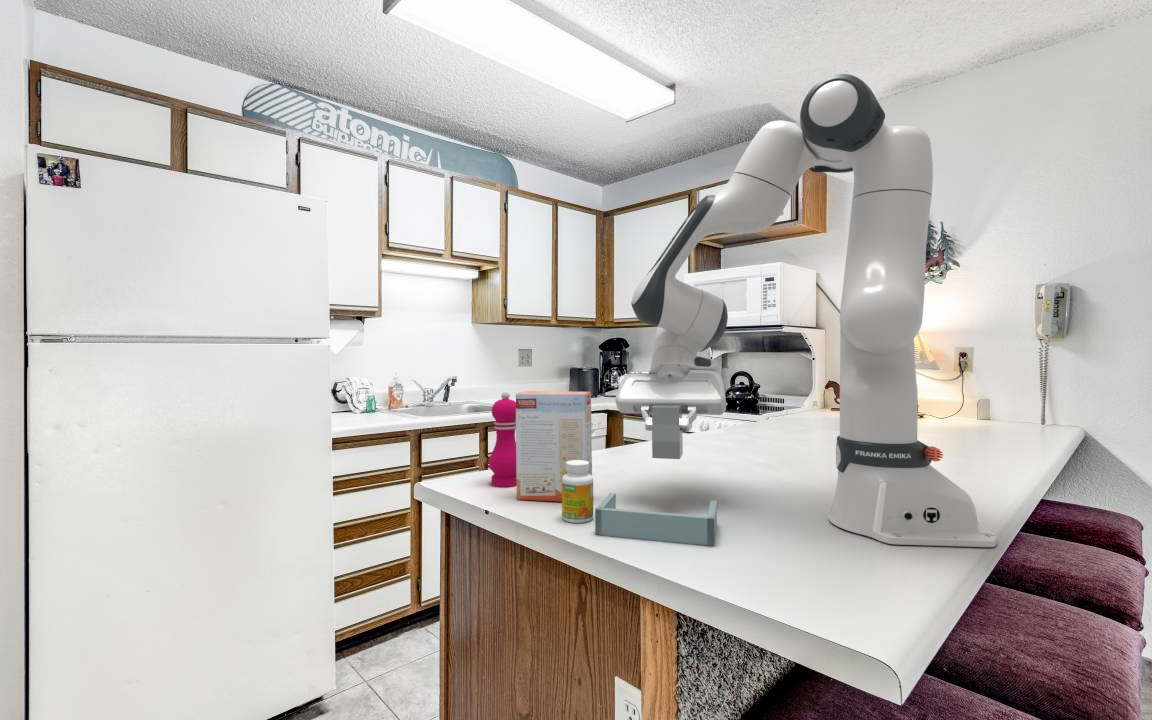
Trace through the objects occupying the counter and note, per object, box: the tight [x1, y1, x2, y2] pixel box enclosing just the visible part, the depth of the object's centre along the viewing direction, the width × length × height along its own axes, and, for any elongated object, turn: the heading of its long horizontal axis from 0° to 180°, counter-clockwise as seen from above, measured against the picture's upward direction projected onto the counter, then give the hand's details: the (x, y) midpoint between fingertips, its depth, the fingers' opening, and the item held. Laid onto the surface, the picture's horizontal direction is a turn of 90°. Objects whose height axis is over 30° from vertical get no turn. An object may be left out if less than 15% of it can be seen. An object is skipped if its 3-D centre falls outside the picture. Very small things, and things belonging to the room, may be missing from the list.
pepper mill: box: [488, 391, 517, 488], centre depth 117 cm, size 7×7×20 cm
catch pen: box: [594, 492, 718, 547], centre depth 86 cm, size 18×10×4 cm, turn 73°
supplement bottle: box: [561, 460, 594, 524], centre depth 92 cm, size 5×5×10 cm
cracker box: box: [515, 390, 593, 503], centre depth 105 cm, size 14×6×21 cm, turn 77°
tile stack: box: [651, 405, 684, 460], centre depth 96 cm, size 5×5×9 cm
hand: (667, 429), depth 96 cm, fingers closed on tile stack, 5 cm apart
